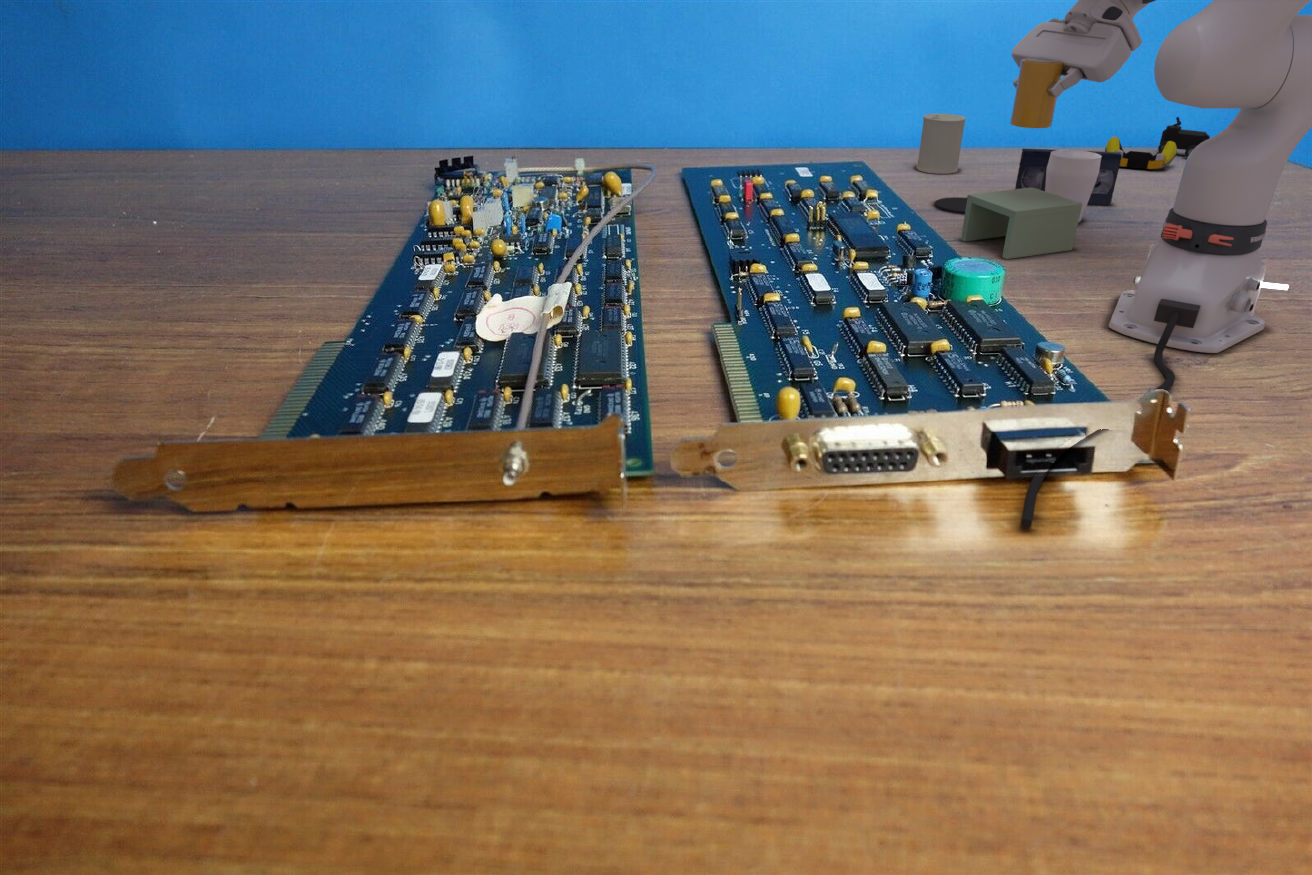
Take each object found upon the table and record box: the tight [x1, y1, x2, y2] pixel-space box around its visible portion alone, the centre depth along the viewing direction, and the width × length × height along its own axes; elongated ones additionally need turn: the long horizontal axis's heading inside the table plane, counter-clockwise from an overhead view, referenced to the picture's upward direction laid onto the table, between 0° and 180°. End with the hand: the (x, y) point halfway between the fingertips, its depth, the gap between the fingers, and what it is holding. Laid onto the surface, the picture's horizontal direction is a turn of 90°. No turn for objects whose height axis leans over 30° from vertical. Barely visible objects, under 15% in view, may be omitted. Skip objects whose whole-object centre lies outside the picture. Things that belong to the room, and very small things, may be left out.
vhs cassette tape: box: [1014, 148, 1122, 206], centre depth 186 cm, size 18×3×10 cm, turn 76°
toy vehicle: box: [1157, 116, 1211, 159], centre depth 225 cm, size 8×15×9 cm, turn 54°
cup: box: [1045, 149, 1101, 223], centre depth 174 cm, size 9×9×12 cm
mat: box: [934, 196, 968, 215], centre depth 184 cm, size 11×11×1 cm
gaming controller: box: [1104, 136, 1178, 170], centre depth 216 cm, size 15×6×10 cm
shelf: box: [960, 187, 1082, 260], centre depth 160 cm, size 14×12×8 cm
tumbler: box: [1009, 58, 1063, 129], centre depth 153 cm, size 6×6×10 cm
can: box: [916, 113, 967, 175], centre depth 211 cm, size 9×9×12 cm
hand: (1034, 90), depth 153 cm, fingers closed on tumbler, 6 cm apart
